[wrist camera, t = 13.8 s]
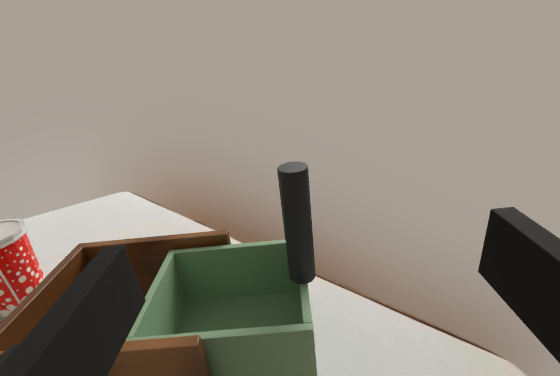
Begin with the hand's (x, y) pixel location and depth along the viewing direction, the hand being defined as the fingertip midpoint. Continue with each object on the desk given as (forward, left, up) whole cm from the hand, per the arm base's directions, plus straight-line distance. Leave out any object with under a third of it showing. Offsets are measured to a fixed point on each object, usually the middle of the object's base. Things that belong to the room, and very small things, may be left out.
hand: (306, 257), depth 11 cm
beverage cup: (+34, -7, -16) cm, 38 cm away
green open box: (+9, -7, -16) cm, 19 cm away
